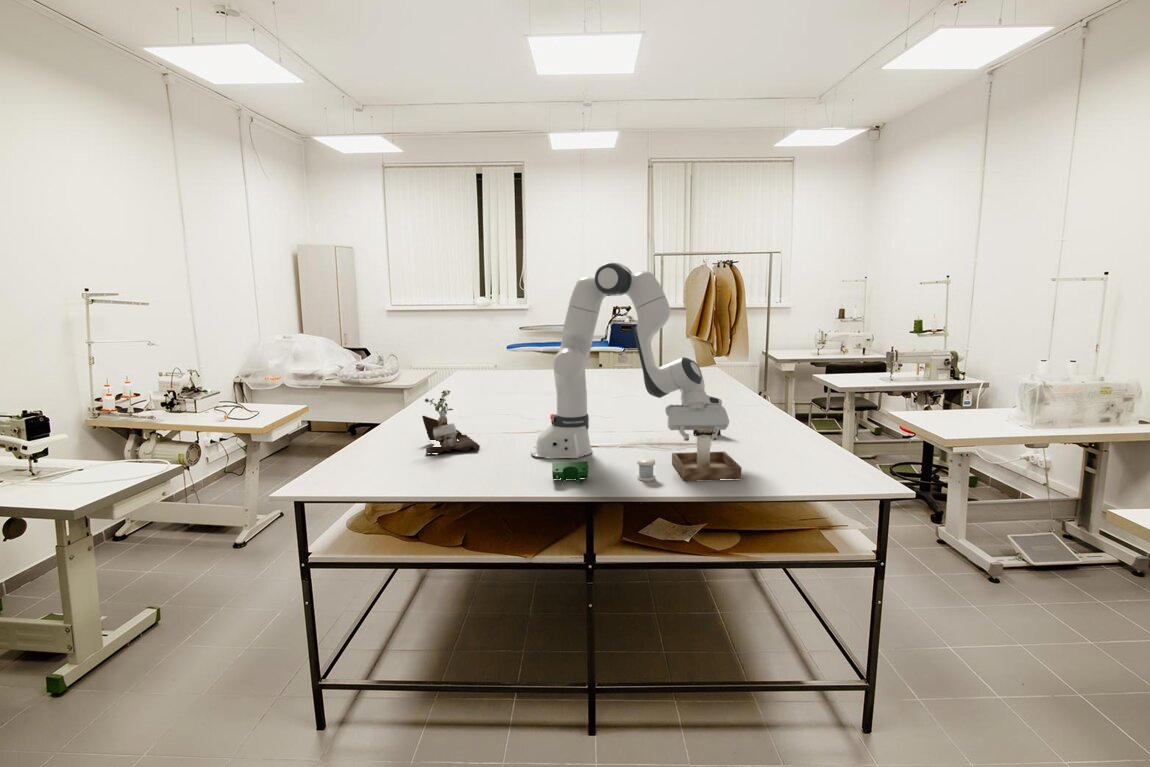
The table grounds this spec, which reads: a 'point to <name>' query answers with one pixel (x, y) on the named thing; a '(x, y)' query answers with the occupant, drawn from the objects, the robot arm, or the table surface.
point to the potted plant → (445, 431)
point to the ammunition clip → (705, 432)
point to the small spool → (646, 469)
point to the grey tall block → (703, 451)
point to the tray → (719, 467)
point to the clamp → (570, 470)
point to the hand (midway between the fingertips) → (700, 439)
